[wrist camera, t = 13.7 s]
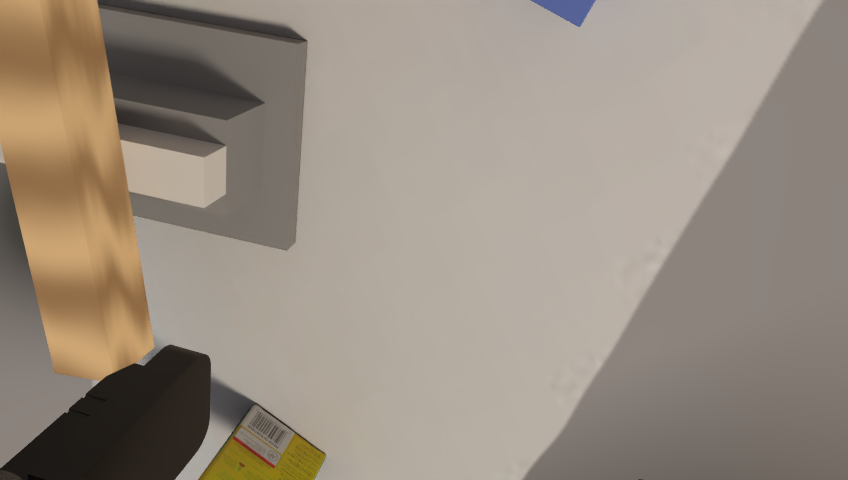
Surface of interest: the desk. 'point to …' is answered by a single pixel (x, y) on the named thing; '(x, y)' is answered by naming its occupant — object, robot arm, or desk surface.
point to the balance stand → (208, 123)
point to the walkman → (568, 9)
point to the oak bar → (71, 185)
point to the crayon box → (264, 452)
